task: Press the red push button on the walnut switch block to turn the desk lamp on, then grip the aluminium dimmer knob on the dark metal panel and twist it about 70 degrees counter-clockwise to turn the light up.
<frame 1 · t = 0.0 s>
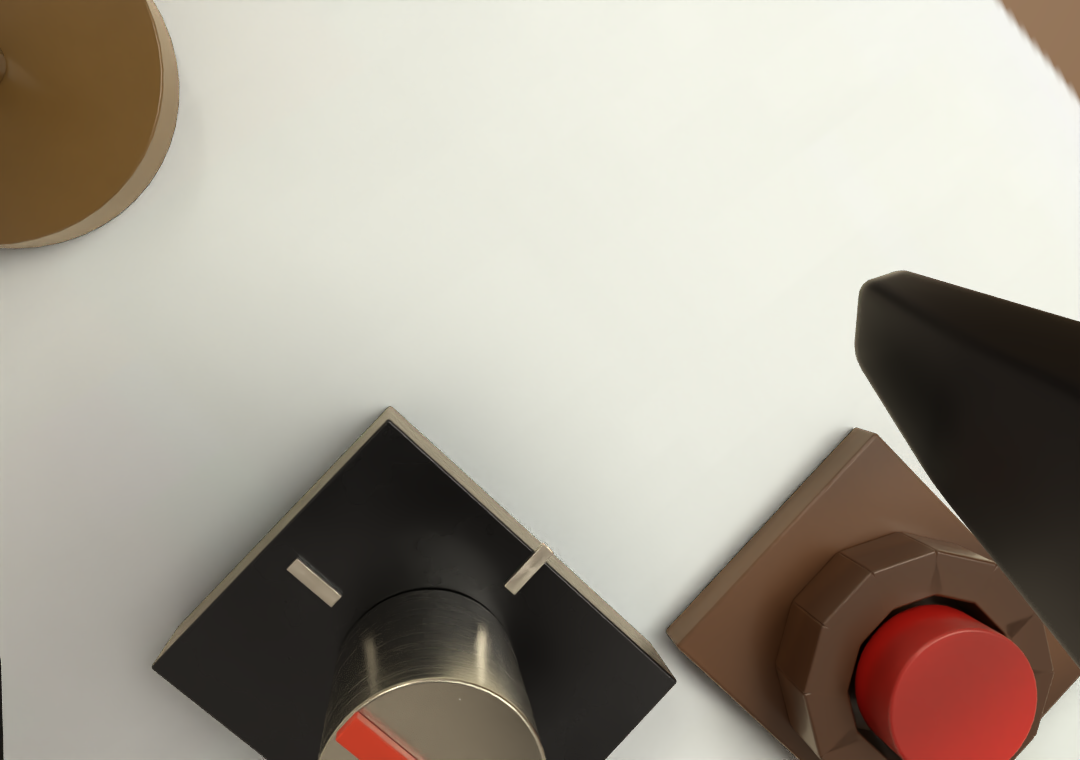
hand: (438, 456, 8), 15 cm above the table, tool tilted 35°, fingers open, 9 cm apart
switch block: (872, 638, 26), on the table
dimmer knob: (429, 730, 19), point 5 cm above the table, hinge at 0.0°
dimmer panel: (424, 635, 24), on the table
desk lamp: (3, 79, 21), on the table
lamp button: (943, 691, 22), point 3 cm above the table, slide at 0.1 cm
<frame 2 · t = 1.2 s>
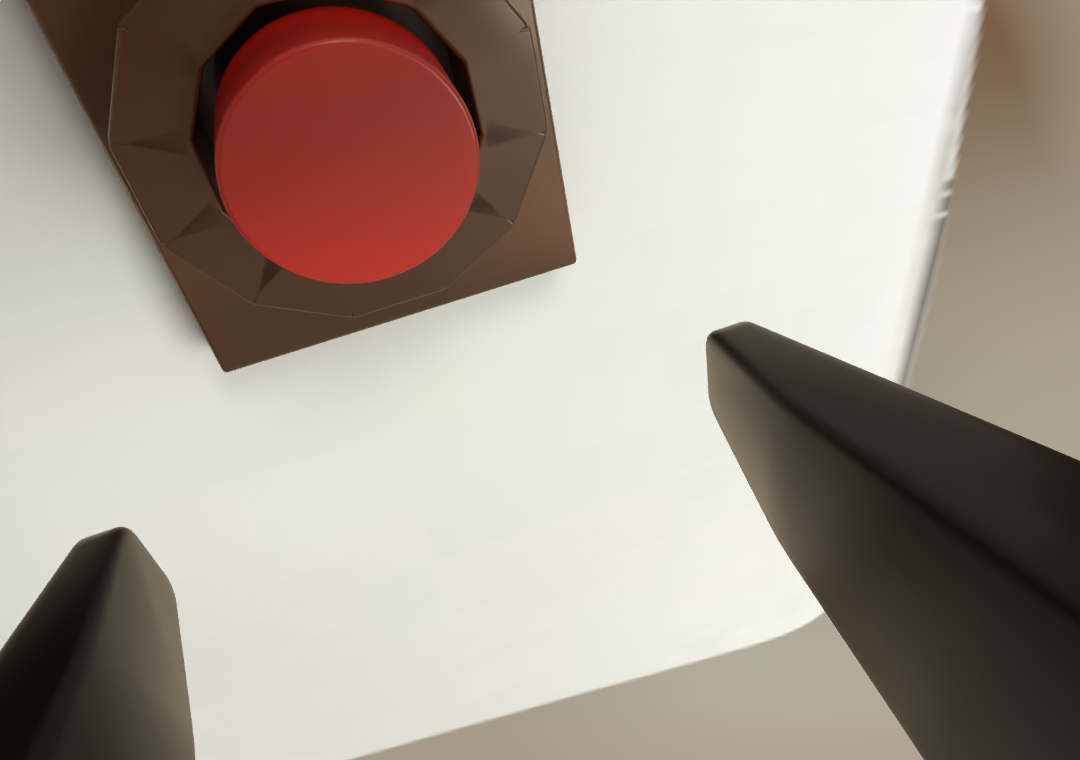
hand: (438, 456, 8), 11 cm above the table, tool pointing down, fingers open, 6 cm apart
switch block: (325, 77, 17), on the table
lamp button: (347, 150, 14), point 3 cm above the table, slide at 0.1 cm
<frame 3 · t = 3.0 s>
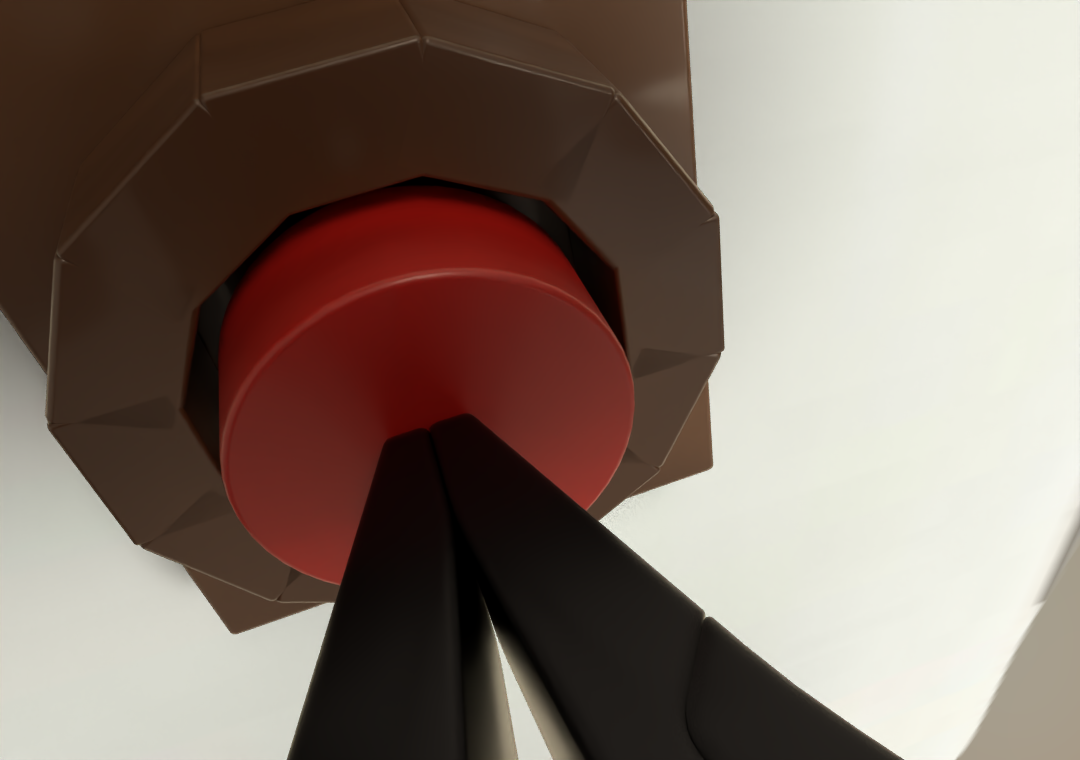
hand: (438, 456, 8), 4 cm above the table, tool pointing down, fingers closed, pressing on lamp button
switch block: (379, 248, 11), on the table
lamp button: (425, 398, 9), point 3 cm above the table, slide at -0.2 cm, touching gripper
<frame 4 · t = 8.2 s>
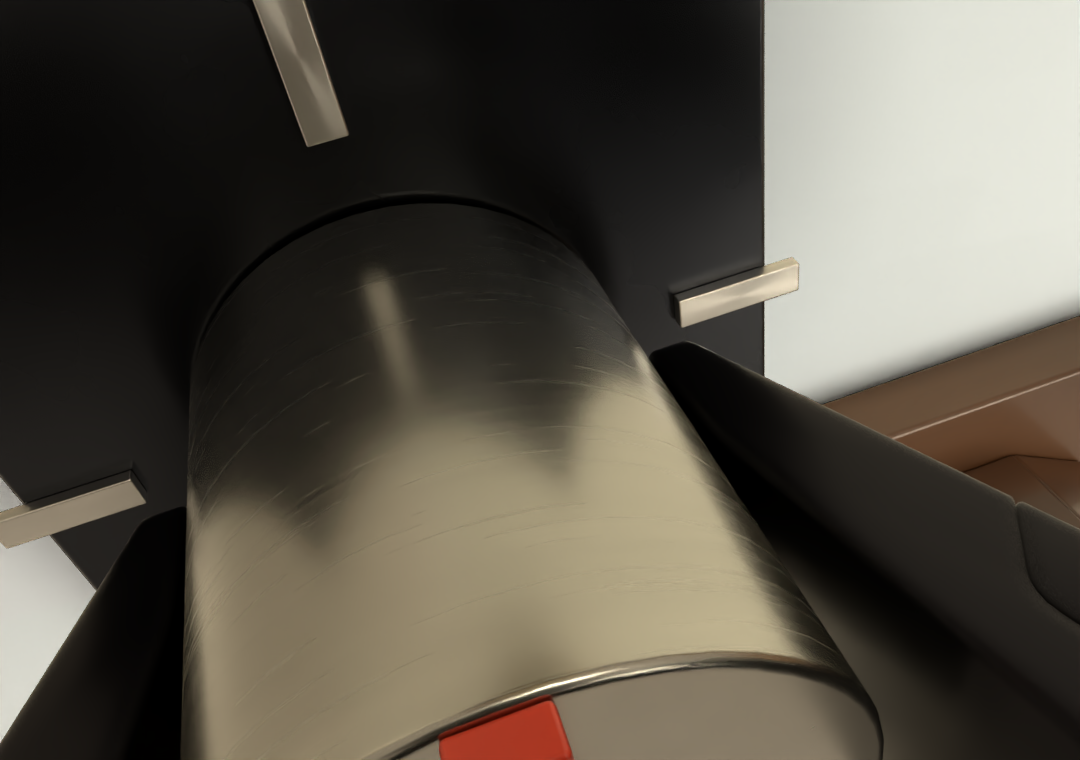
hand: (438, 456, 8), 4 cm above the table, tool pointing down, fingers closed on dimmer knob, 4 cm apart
switch block: (904, 542, 18), on the table
dimmer knob: (476, 592, 7), point 5 cm above the table, hinge at 0.0°, touching gripper
dimmer panel: (380, 271, 11), on the table
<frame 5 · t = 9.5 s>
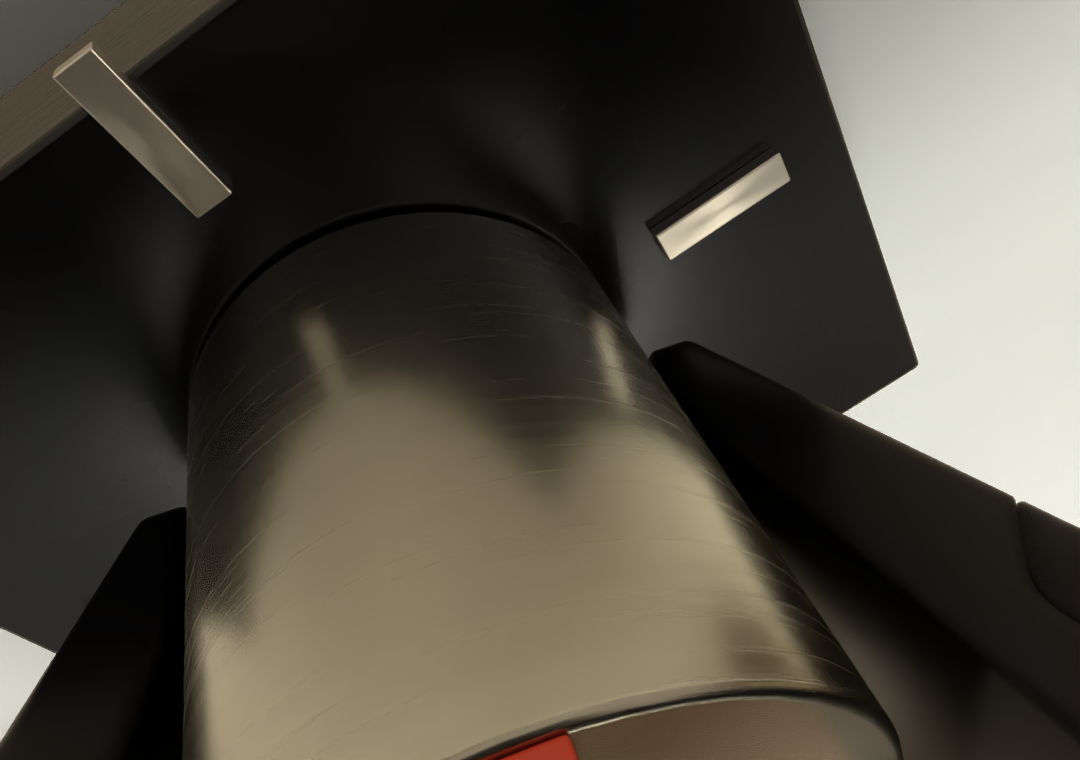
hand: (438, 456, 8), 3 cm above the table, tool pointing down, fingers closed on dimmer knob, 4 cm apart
dimmer knob: (482, 609, 7), point 5 cm above the table, hinge at 70.1°, touching gripper
dimmer panel: (380, 278, 11), on the table
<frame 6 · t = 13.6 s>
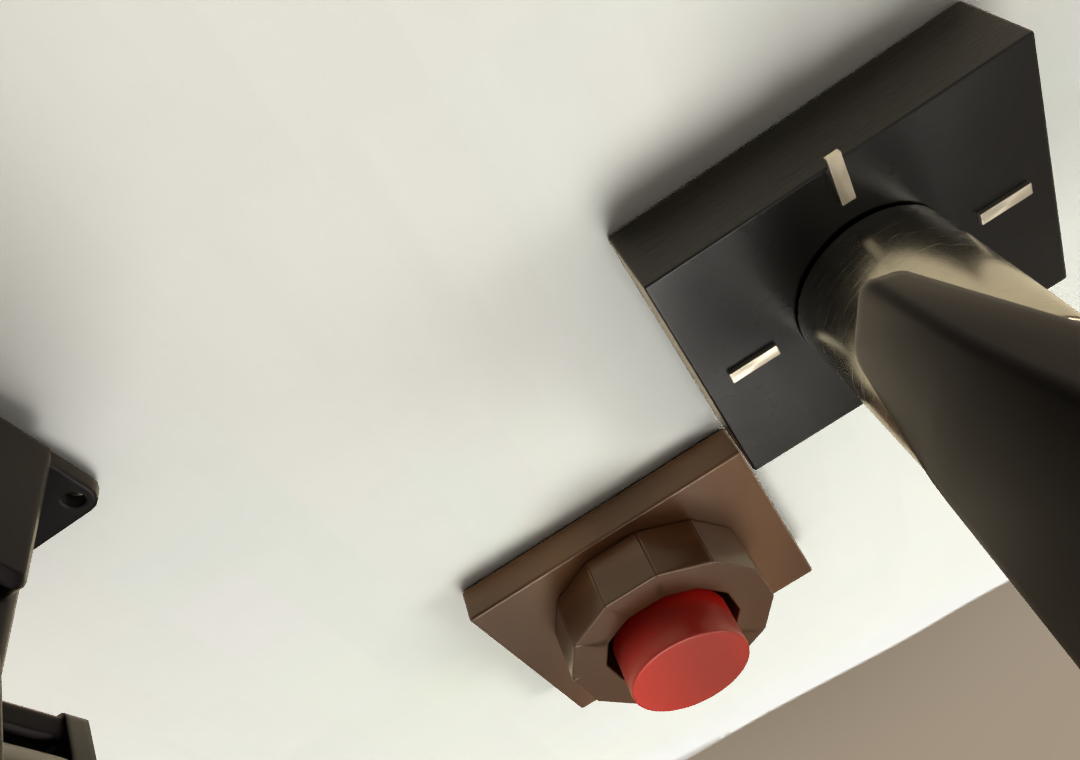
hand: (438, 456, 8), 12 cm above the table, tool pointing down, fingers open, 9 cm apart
switch block: (639, 567, 31), on the table
dimmer knob: (942, 343, 20), point 5 cm above the table, hinge at 69.9°
dimmer panel: (822, 236, 24), on the table
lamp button: (680, 650, 28), point 3 cm above the table, slide at 0.1 cm
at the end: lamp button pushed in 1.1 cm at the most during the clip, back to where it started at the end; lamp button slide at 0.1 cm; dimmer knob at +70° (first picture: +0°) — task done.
